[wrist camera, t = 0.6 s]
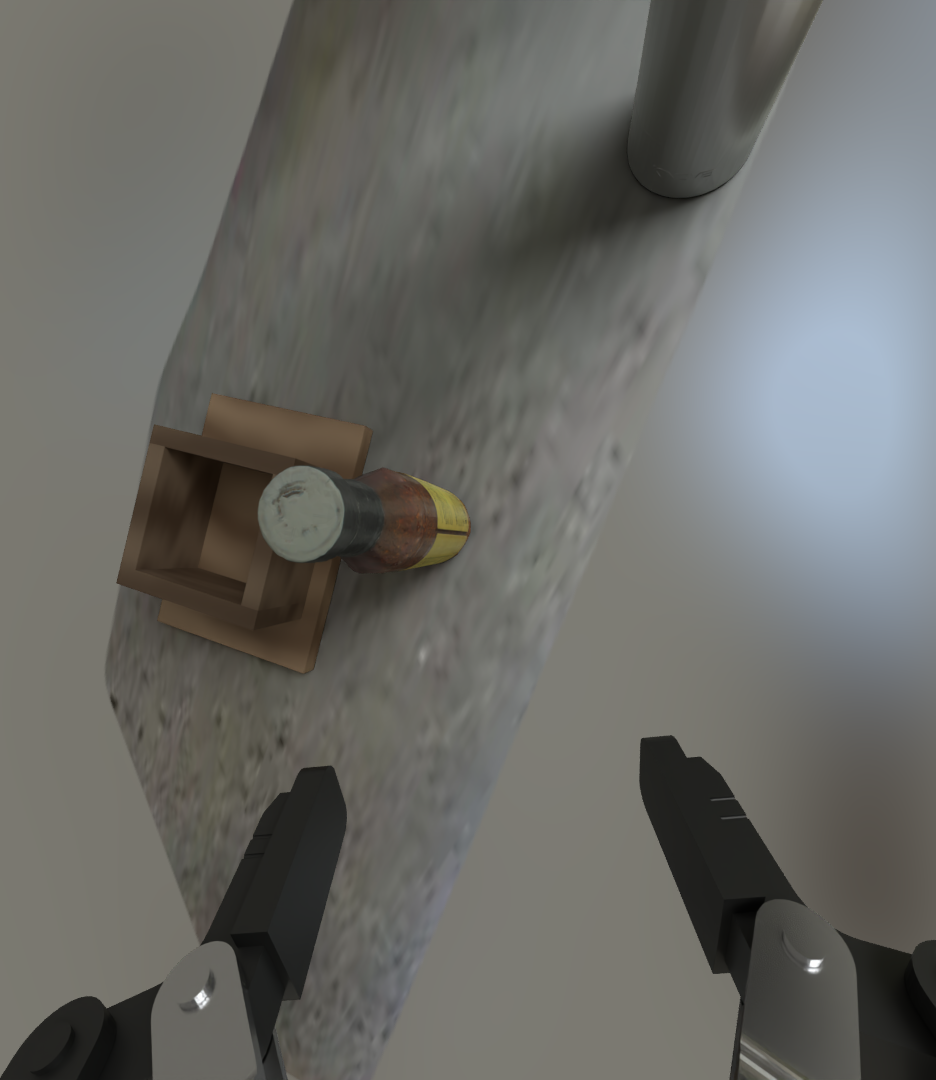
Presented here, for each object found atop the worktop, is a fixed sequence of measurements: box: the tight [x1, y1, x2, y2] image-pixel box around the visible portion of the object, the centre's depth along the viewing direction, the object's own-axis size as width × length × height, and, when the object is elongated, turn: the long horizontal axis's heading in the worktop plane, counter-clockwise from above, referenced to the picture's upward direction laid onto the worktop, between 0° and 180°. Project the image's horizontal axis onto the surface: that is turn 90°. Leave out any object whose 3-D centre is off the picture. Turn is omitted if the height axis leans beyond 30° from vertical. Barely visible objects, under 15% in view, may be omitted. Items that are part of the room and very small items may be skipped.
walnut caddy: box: [117, 393, 373, 674], centre depth 37 cm, size 22×16×8 cm
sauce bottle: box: [258, 465, 471, 574], centre depth 27 cm, size 7×6×20 cm
